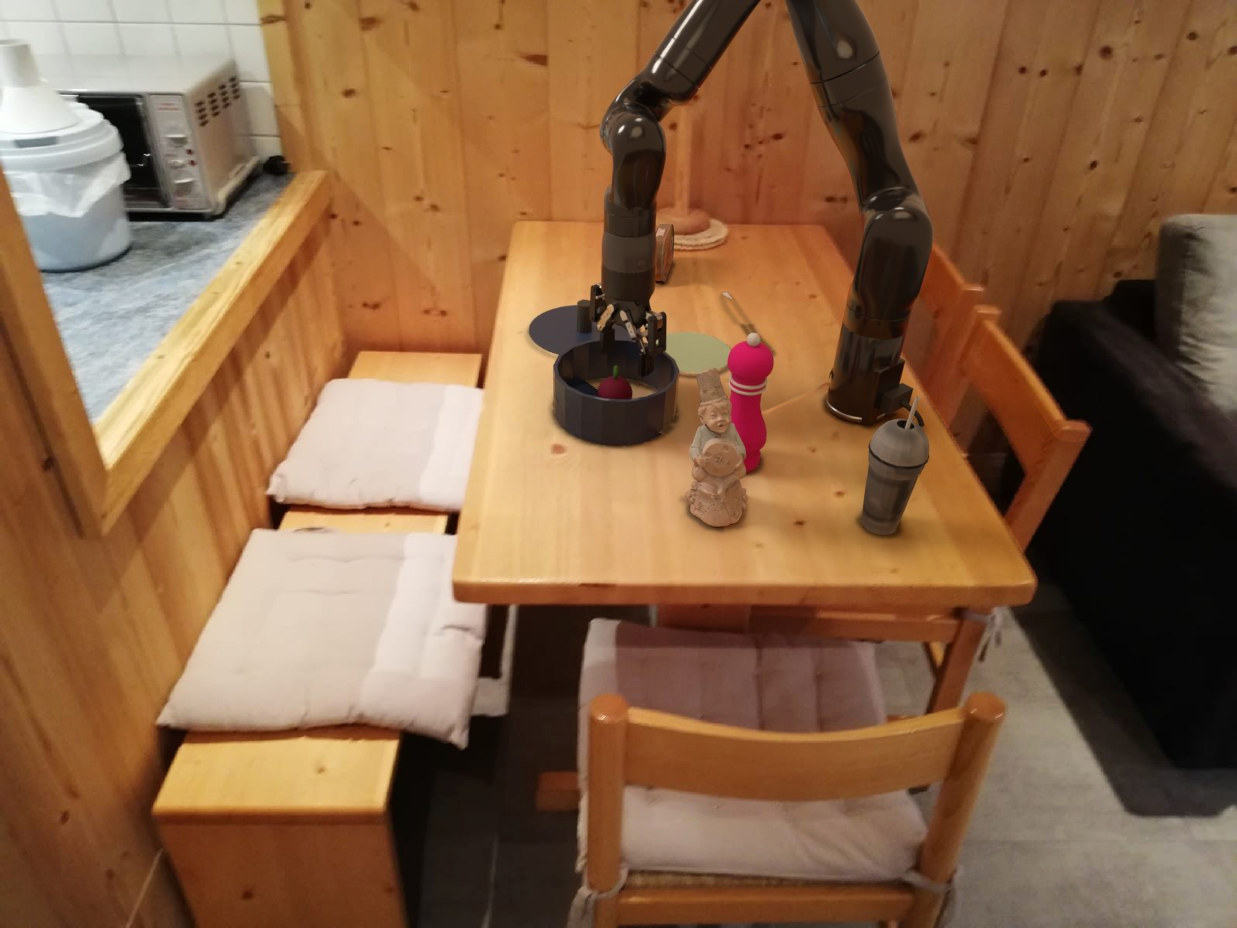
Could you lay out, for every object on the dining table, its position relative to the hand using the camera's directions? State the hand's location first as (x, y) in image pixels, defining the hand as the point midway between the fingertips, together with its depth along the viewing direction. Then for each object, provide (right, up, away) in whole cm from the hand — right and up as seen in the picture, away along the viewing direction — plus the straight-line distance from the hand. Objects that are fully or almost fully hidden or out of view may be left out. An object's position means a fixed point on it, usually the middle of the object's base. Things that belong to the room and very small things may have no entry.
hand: (625, 363), depth 134 cm
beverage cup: (+33, -23, -16) cm, 43 cm away
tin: (+7, +23, +45) cm, 51 cm away
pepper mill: (+16, -14, -6) cm, 22 cm away
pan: (-2, -7, +3) cm, 8 cm away
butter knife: (+21, +10, +28) cm, 37 cm away
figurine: (+12, -21, -15) cm, 28 cm away
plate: (+11, +3, +18) cm, 21 cm away
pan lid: (-7, +8, +22) cm, 25 cm away
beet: (-2, -6, +3) cm, 7 cm away
